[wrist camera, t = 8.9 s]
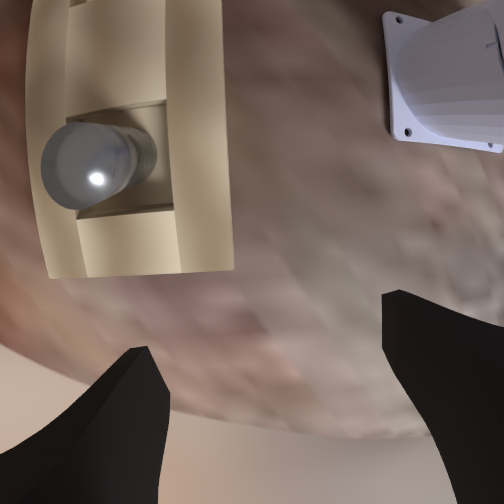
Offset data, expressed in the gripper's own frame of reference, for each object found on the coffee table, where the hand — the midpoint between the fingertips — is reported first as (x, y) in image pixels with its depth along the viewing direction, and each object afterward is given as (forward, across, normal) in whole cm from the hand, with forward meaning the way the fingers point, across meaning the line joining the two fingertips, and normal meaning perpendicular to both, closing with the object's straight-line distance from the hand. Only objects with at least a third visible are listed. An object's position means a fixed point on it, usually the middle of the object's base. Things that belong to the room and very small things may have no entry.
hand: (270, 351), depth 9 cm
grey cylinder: (+8, +5, -6) cm, 12 cm away
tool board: (+9, +4, -12) cm, 16 cm away
